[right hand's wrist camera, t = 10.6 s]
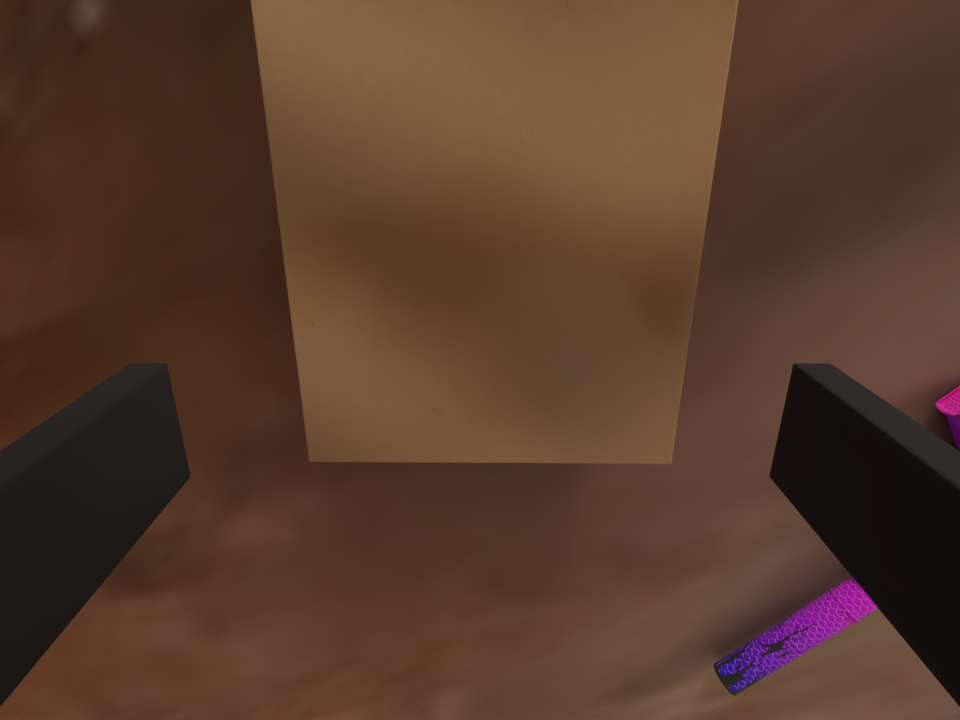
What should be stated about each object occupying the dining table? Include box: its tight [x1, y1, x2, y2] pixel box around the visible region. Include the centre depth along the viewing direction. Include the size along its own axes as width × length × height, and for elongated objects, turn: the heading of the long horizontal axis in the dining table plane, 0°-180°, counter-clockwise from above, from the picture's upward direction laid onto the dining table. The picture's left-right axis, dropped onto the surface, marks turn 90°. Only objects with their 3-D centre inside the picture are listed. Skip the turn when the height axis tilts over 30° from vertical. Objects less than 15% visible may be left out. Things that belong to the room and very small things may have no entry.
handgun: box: [714, 386, 960, 695], centre depth 30 cm, size 21×8×2 cm, turn 136°
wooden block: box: [251, 0, 739, 464], centre depth 20 cm, size 13×11×10 cm
